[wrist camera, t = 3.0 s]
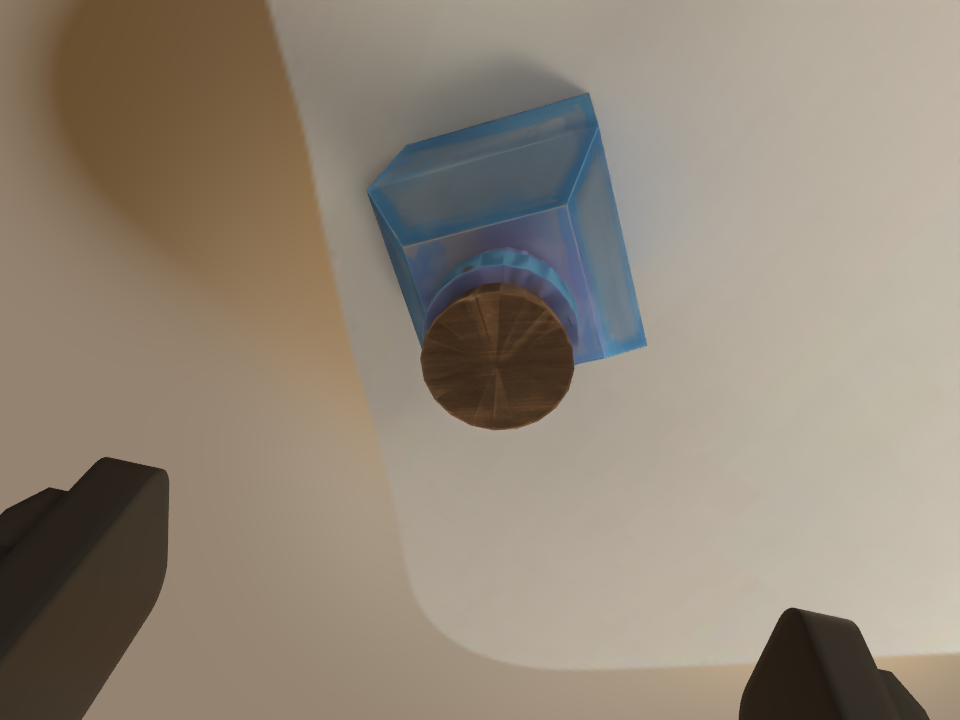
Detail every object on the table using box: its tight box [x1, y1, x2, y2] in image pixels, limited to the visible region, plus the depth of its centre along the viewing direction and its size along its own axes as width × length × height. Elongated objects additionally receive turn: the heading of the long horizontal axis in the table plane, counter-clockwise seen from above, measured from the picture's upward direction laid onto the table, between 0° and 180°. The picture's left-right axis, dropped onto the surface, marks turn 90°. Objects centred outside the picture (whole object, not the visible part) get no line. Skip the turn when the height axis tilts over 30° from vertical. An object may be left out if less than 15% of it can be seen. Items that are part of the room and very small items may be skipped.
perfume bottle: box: [367, 93, 647, 430], centre depth 22 cm, size 6×6×12 cm
